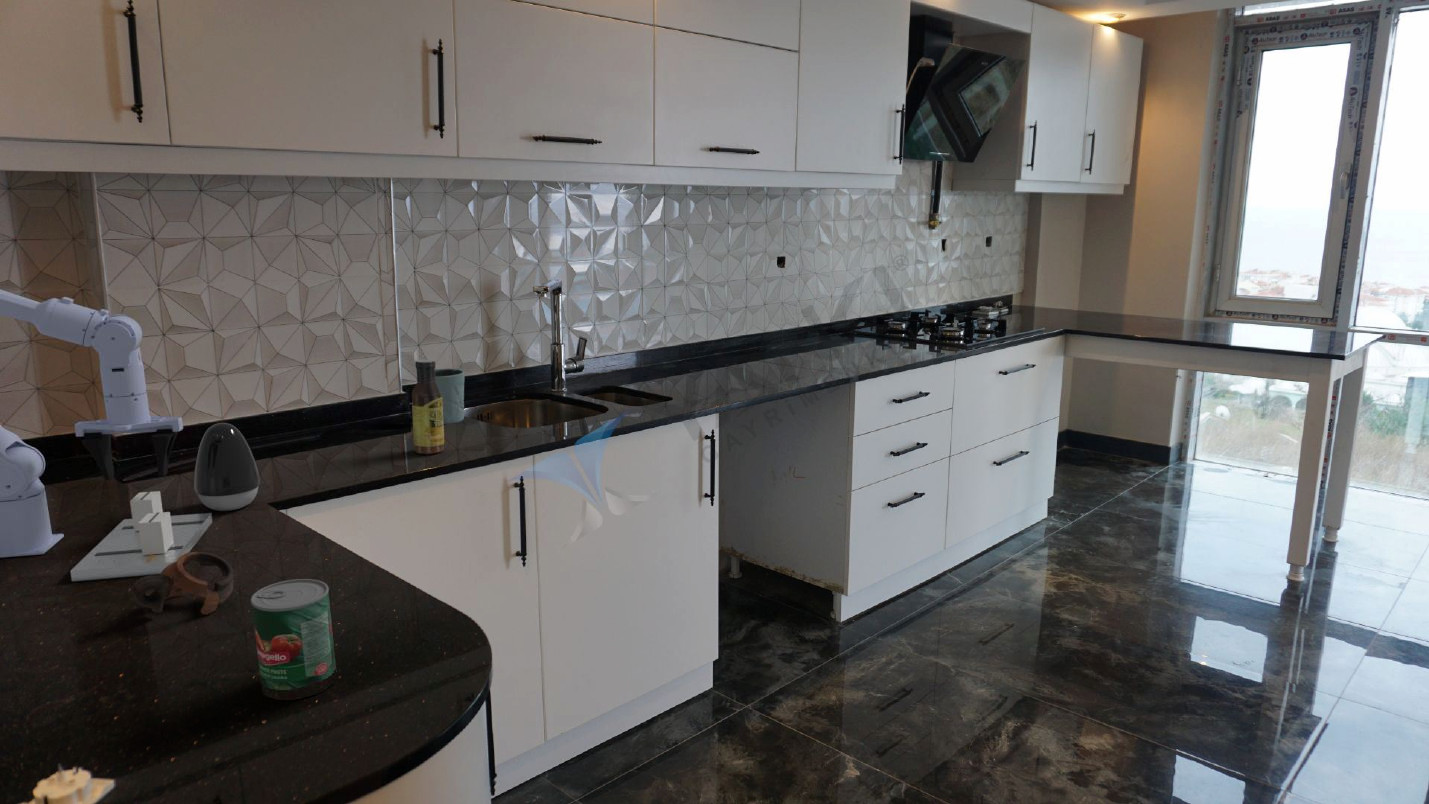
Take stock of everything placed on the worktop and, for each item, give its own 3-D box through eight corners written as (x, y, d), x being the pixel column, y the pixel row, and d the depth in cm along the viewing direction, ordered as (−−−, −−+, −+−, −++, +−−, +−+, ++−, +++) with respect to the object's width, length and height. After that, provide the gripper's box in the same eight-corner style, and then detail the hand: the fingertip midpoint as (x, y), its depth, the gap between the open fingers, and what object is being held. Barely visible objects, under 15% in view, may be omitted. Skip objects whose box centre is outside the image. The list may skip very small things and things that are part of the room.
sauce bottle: (435, 456, 195) (430, 364, 191) (409, 454, 196) (402, 362, 192) (450, 448, 201) (445, 358, 197) (424, 446, 202) (418, 357, 198)
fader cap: (142, 555, 136) (137, 522, 135) (151, 544, 141) (147, 512, 139) (165, 553, 137) (160, 520, 136) (173, 542, 141) (169, 511, 140)
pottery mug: (198, 589, 130) (221, 543, 128) (229, 633, 126) (254, 586, 124) (108, 599, 120) (132, 548, 118) (139, 648, 116) (164, 596, 114)
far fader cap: (134, 531, 146) (129, 500, 145) (143, 521, 150) (139, 491, 149) (155, 529, 147) (151, 499, 146) (163, 520, 151) (159, 490, 150)
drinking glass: (472, 415, 231) (470, 368, 228) (457, 425, 221) (455, 376, 218) (434, 414, 232) (431, 367, 229) (417, 424, 222) (414, 375, 219)
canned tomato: (347, 665, 108) (339, 578, 106) (321, 701, 101) (312, 608, 98) (279, 666, 108) (269, 578, 106) (248, 702, 101) (237, 608, 98)
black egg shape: (190, 518, 157) (179, 432, 153) (205, 499, 167) (195, 418, 163) (255, 513, 159) (246, 428, 156) (267, 495, 169) (258, 414, 166)
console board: (71, 581, 131) (70, 570, 131) (125, 528, 152) (124, 518, 152) (173, 572, 134) (172, 561, 134) (212, 522, 155) (211, 512, 155)
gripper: (61, 401, 138) (74, 487, 141) (169, 396, 142) (179, 480, 145) (80, 391, 145) (92, 474, 148) (182, 387, 149) (192, 468, 152)
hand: (136, 476), depth 147 cm, fingers open, 7 cm apart
